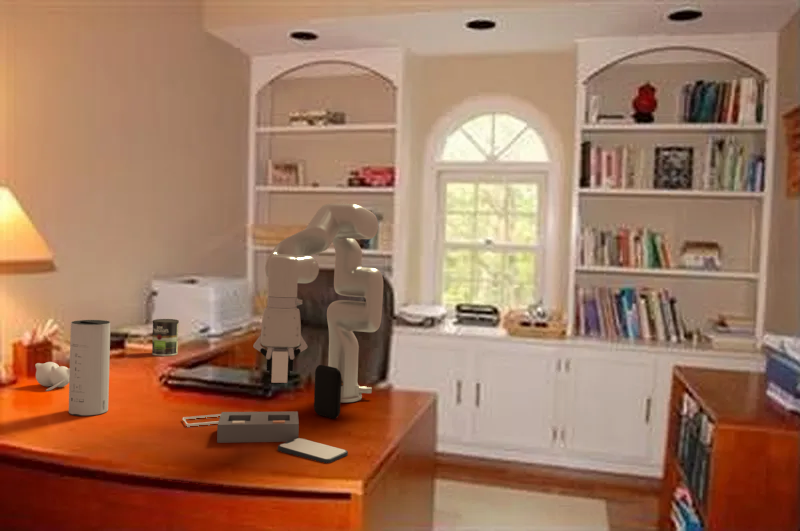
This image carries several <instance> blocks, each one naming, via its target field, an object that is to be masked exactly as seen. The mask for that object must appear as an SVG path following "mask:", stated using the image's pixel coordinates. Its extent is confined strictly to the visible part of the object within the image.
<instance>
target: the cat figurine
mask: <svg viewBox="0 0 800 531" xmlns="http://www.w3.org/2000/svg"><path fill="white" fill-rule="evenodd" d="M34 366H35V369H36V370H35V380H36V381H37V383H38V384H40V385H41V386H44V387H47V389H45V392H49V391H52V390H53V389H55V388H62V387H66V386H67V385H69V374H70V367H67V366H64V365H61V366H59V364H58V363H56V362H54V361H47V362H45V363H40V362H37V363H35V365H34Z"/></svg>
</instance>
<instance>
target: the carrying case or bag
mask: <svg viewBox="0 0 800 531" xmlns="http://www.w3.org/2000/svg"><path fill="white" fill-rule="evenodd" d="M341 386H343V380H342V376H341V373H340V371H339V370H338V369H337V368H334V367H330V366H328V365H324V364H319V365H317V367H316V368H315V372H314V390H313V391H314V394H313V398H314V399H313V401H314V402H313V408H314V412H315V413H316V414H317V415H318V416H322V417H326V418H329V419H333V420H335V419H337V418H339V416H340V413H341V403H340V400H341Z"/></svg>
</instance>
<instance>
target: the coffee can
mask: <svg viewBox="0 0 800 531" xmlns="http://www.w3.org/2000/svg"><path fill="white" fill-rule="evenodd" d="M179 320H180V319H179ZM179 320H178V319H173V318H157V319H153V320H152V340H151V341H152V342H151V343H152V345H151V346H152V347H151V348H152V350H151V355H152V356H156V357H170V356H171V357H172V356H173V357H174V356H176V355H177V356H178V348H179V346H178V344H179V323H180V322H179Z"/></svg>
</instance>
